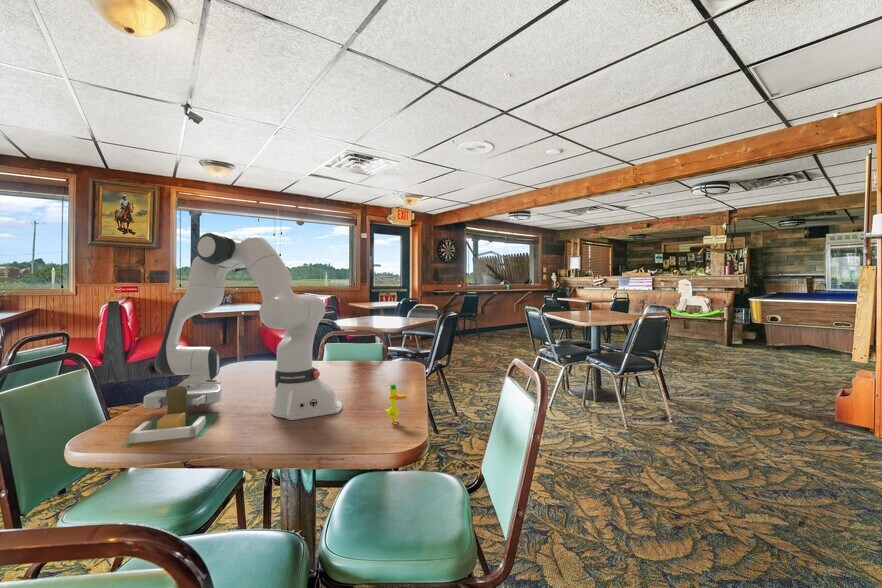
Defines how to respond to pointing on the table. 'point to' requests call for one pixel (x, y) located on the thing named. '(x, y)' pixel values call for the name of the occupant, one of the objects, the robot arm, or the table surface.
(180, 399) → the cork
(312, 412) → the robot arm
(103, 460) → the table surface
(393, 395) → the toy figure
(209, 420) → the mat
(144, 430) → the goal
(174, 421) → the yellow block
